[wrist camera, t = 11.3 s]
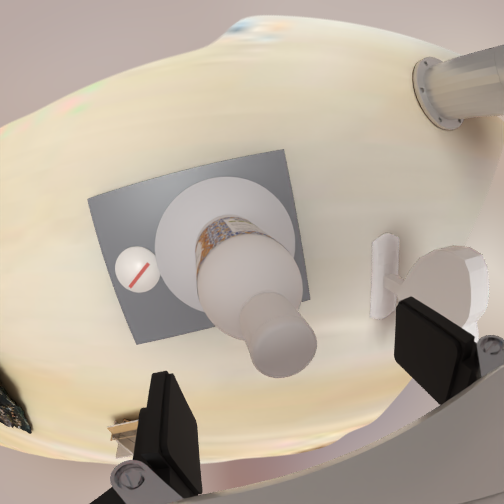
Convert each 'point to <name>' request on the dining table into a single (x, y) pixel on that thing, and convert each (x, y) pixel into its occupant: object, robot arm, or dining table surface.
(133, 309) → the dial scale
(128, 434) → the architectural model
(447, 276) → the heart sculpture
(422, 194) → the dining table surface
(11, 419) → the decorative rock
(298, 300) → the bath foam
